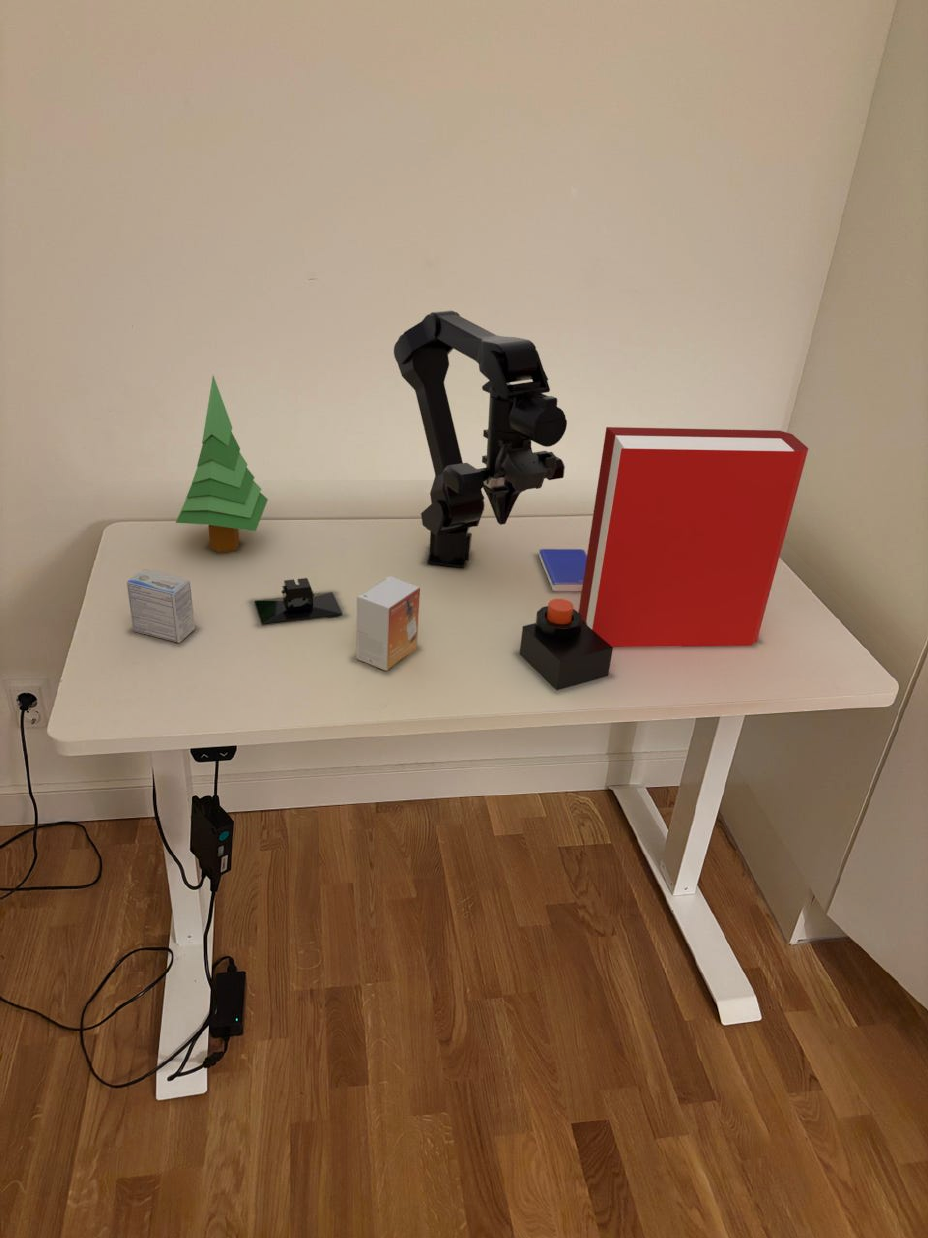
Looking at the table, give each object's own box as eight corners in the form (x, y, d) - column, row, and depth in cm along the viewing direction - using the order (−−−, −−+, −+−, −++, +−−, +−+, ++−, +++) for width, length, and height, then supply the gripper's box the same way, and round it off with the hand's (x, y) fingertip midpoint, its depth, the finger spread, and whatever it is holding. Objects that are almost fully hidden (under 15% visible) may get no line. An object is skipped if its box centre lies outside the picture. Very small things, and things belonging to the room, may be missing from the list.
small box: (386, 672, 137) (388, 609, 131) (354, 659, 139) (355, 596, 134) (418, 648, 143) (421, 586, 137) (387, 635, 145) (389, 574, 140)
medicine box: (196, 630, 143) (191, 578, 139) (179, 644, 139) (173, 592, 135) (150, 618, 145) (144, 567, 140) (132, 632, 141) (125, 580, 137)
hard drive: (601, 583, 161) (584, 548, 171) (553, 583, 159) (539, 548, 170) (600, 591, 161) (583, 556, 172) (552, 591, 160) (538, 556, 171)
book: (589, 647, 146) (621, 448, 130) (577, 620, 153) (606, 427, 136) (759, 645, 150) (812, 451, 133) (740, 618, 157) (788, 430, 140)
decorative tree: (223, 520, 175) (211, 355, 159) (285, 547, 167) (280, 377, 152) (162, 545, 165) (144, 372, 149) (226, 575, 158) (214, 396, 142)
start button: (542, 615, 140) (543, 601, 139) (562, 610, 142) (564, 596, 141) (555, 627, 138) (557, 613, 137) (576, 622, 139) (578, 608, 138)
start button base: (516, 652, 144) (521, 611, 140) (566, 639, 148) (572, 599, 144) (556, 690, 136) (562, 649, 132) (608, 676, 140) (615, 635, 136)
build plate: (332, 594, 155) (332, 568, 152) (342, 617, 149) (343, 591, 147) (254, 602, 151) (253, 576, 148) (261, 626, 145) (261, 599, 143)
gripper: (479, 451, 134) (474, 553, 141) (589, 435, 142) (579, 532, 149) (442, 428, 142) (439, 526, 150) (548, 414, 150) (540, 507, 158)
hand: (501, 523), depth 151 cm, fingers closed
